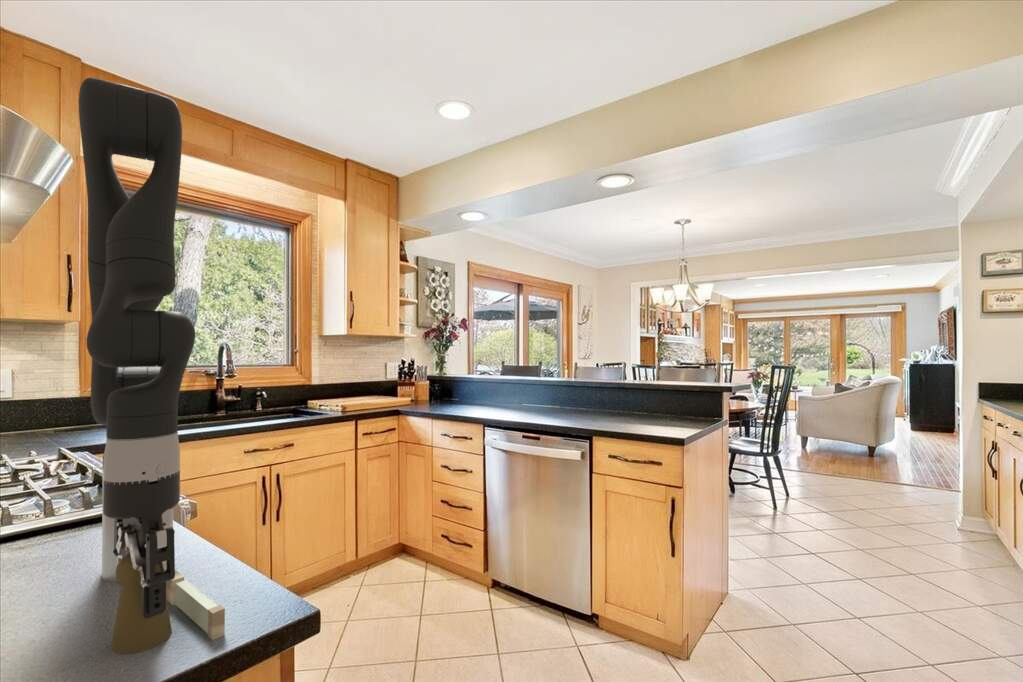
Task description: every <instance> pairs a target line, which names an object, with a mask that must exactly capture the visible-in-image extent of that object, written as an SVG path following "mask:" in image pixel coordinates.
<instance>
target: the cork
mask: <svg viewBox="0 0 1023 682" xmlns="http://www.w3.org/2000/svg"><path fill="white" fill-rule="evenodd" d="M144 558H146V557H144ZM157 572H160V567H159V565H158V564H156V565H155V573H157ZM116 579H117V582H116V583H118V584H119V586H120V585H121V591H120V590H119V598H118V605H117V610H116V617H115V623H114V628H113V635H112V641H111V648H110V649H111V652H113V653H114V654H119V655H131V654H132V655H133V654H136V653H137V654H138V653H142V652H145V651H147V650H148V651H149V650H151V649H153V648H156V647H157V646H159V645H161V644H163V643H164V642H166V641H167V640H168V639H169V638H170V637H171V635H172V634H173V630H172V623H171V617H170V612H169V605H168V601H167V598H166V609H165V611H164V612H163V613H161V614H159V615H156V616H153V617H150V618H147V619H146V618H144V617H143V616H142V585H141V578H140V573H139V571H138V570H135V569H134V568H133V565H132V560H131V554H129V555H127V556H125V557H124V558H122V559H121V561H120V562H119V563H118V565H117V568H116Z"/></svg>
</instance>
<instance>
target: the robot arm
mask: <svg viewBox="0 0 1023 682" xmlns="http://www.w3.org/2000/svg"><path fill="white" fill-rule="evenodd" d="M78 117H79V119H78V120H79V128H80V130H79V131H80V138H81V147H82V148H81V149H82V154H83V155H82V156H83V165H84V166H83V167H84V173H85V176H84V177H85V184H86V194H87V273H88V276H87V277H88V286H89V287H88V288H89V296H90V297H89V298H90V311H91V324H90V325H89V329H88V332H87V336H86V349H87V351H88V354H89V356H90V357H91V373H90V374H91V375H90V377H91V378H90V409H91V414H92V417H93V419H94V420H95V422H96V423H97V424H99V425H102V426H106V436H105V437H106V440H105V447H104V452H103V455H102V502H101V503H102V509H101V510H102V511H101V512H102V516H101V517H102V518H101V519H102V521H101V523H102V524H101V526H102V527H101V528H102V529H101V531H102V533H101V534H102V535H101V578H102V580H103V581H106V582H111V583H112V582H115V583H118V582H117V579H116V568H117V565H118V563H119V562H120V561H121V559H122V558H124V557H125V556H127V555H129V554H131V560H132V565H133V568H134V569H135V570H138V571H139V573H140V578H141V585H142V616H143V617H144V618H146V619H147V618H150V617H153V616H156V615H159V614H161V613H163V612H164V611H165V609H166V581H168V580H172V579H174V578H175V570H176V569H175V568H176V567H175V566H176V563H175V560H176V559H175V556H176V555H175V554H176V553H175V551H176V550H175V530H174V508H176V506H177V505H178V504H179V503H180V501H181V447H180V442H179V432H178V428H179V427H178V426H179V420H178V419H179V418H178V417H179V416H178V414H179V413H178V412H179V411H178V410H179V397H180V390H181V386H182V382H183V378H184V374H185V372H186V368H187V365H188V363H189V360H190V359H191V358H190V357H191V355H192V353H193V349H194V347H195V345H194V344H195V342H196V330H195V327H194V324H193V322H192V320H191V319H190V318H189V317H188V316H187V315H186V314H184V313H183V312H180V311H173V310H156V309H157V308H158V307H159V306H160V304H161V303H162V302H163V300H164V298H165V297H167V296H169V295H170V294H172V293H173V292H174V290H175V288H176V257H175V222H176V221H175V218H176V210H177V204H178V196H179V188H180V175H181V163H182V151H183V149H182V148H183V147H182V145H183V125H182V124H183V123H182V116H181V112H180V108H179V106H178V104H177V103H176V102H175V100H174V99H172V98H171V97H169V96H166V95H163V94H161V93H157V92H154V91H150V90H146V89H143V88H138V87H135V86H131V85H126V84H123V83H119V82H114V81H110V80H105V79H101V78H98V77H87V78H85V79H84V80H83V81H82V82H81V84H80V88H79V90H78ZM113 155H117V156H122V157H130V158H134V159H139V160H144V161H145V160H147V161H150V162H153V167H152V170H151V172H150V174H149V176H148V177H147V179H146V180H145V182H144V183H143V184H142V185H141V186H140V188H139V189H138V190H137V191H135V193H134V194H133V195H131V197H130V196H129V195H128V193H127V191H126V189H125V188H124V186H123V184H122V182H121V180H120V178H119V176H118V173H117V170H116V169H115V165H114V162H113ZM144 557H146V558H144ZM156 564H158V565H159V567H160V572H157V573H155V565H156ZM120 591H121V585H120V584H119V592H120Z"/></svg>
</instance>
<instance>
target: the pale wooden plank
mask: <svg viewBox="0 0 1023 682" xmlns="http://www.w3.org/2000/svg"><path fill="white" fill-rule="evenodd" d="M184 580H185V576H184V575H183V574H182V573H180V571H178V570H177V569H175V578H174V579H172V580H168V581H166V598H167V602H168V603H170V605H172V606H174V605H175V606H176V583H178V582H181V581H184ZM217 605H218V606H216V607H213V608H211V609H208V634H207V637H208V638H209V639H210V640H211V641H214V640H216V639H219V638H222V637H223V636H225V635H226V634H225V632H226V631H225V630H226V629H225V627H226V626H225V625H226V621H225V620H226V619H225V618H226V617H225V616H226V609H225V607H224V606H222V605H221V604H217Z"/></svg>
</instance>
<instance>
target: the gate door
mask: <svg viewBox="0 0 1023 682" xmlns="http://www.w3.org/2000/svg"><path fill="white" fill-rule="evenodd" d="M218 605H219V604H218V603H215V602H214V601H213V600H212V599H210V598H209V597H208V596H206V595H205V594H204V593H203V592H201V591H200V589H198V588H196V587H195V586H194V585H193V584H191V583H190V582H189V581H187V579H184V581H181V582H178V583H176V604H175V606H176V607H178V608H179V610H180V611H182V612H183V613H184V614H185V615H186V616H188V618H189V619H191V620H192V621H193V623H195V624H196V625H197V626H198V627H200V629H202V630H203V631H204V632H205V633H206V634H207V635H208V609H211V608H213V607H216V606H218Z"/></svg>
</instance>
